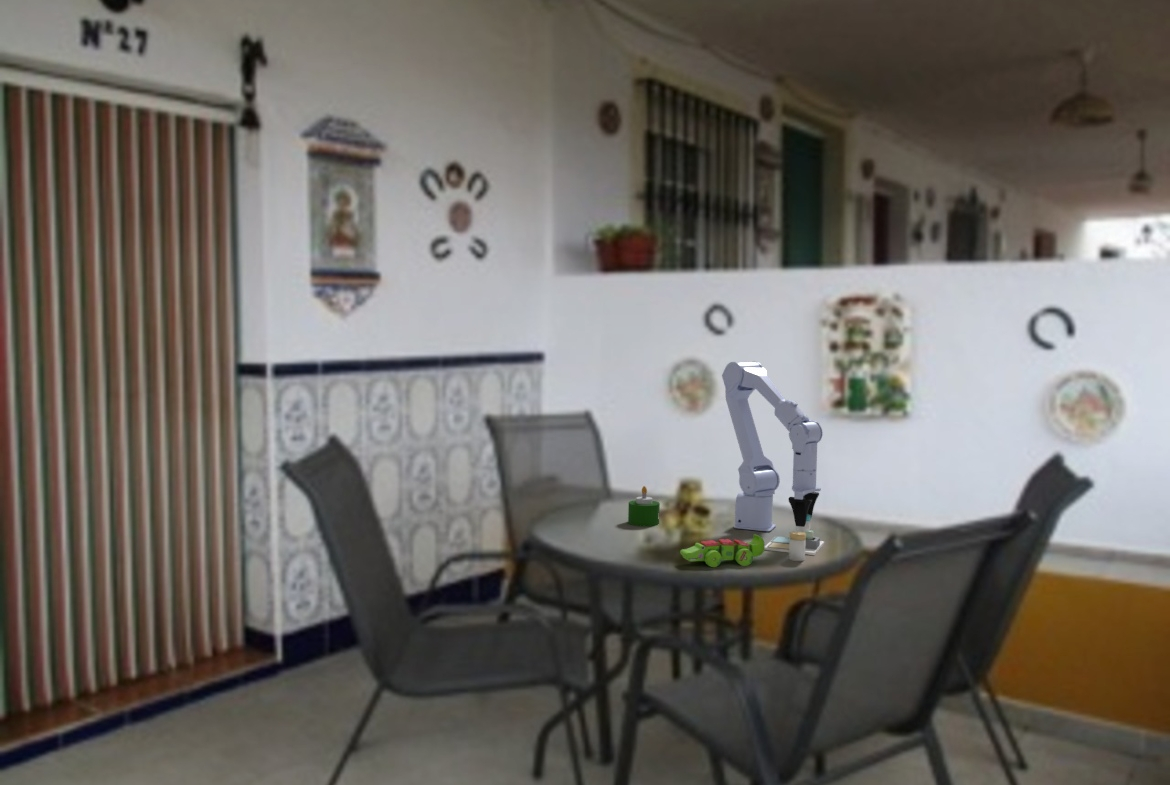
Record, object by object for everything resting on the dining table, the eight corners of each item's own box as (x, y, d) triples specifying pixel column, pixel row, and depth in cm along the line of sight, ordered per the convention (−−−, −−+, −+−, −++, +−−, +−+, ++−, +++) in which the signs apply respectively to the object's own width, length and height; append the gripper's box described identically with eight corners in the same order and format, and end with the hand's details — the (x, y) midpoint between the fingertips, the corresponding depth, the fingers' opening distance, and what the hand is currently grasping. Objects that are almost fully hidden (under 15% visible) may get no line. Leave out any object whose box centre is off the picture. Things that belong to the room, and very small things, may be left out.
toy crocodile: (686, 569, 219) (687, 542, 218) (676, 561, 225) (677, 535, 225) (769, 565, 223) (770, 538, 223) (757, 558, 230) (758, 532, 229)
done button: (803, 540, 238) (804, 531, 238) (805, 538, 240) (805, 529, 240) (812, 541, 237) (812, 532, 237) (813, 539, 239) (814, 530, 239)
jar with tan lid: (787, 560, 228) (788, 534, 227) (790, 556, 231) (791, 531, 231) (803, 561, 226) (804, 535, 226) (806, 558, 230) (807, 532, 229)
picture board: (763, 549, 237) (764, 539, 237) (775, 538, 249) (776, 528, 249) (814, 555, 233) (814, 544, 232) (824, 543, 245) (824, 533, 244)
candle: (657, 520, 270) (658, 483, 269) (660, 526, 262) (661, 489, 261) (627, 519, 270) (627, 483, 269) (629, 526, 261) (630, 488, 261)
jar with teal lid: (793, 539, 249) (794, 515, 249) (796, 536, 253) (797, 512, 252) (808, 540, 248) (809, 516, 247) (811, 537, 251) (812, 514, 251)
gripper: (815, 474, 241) (814, 530, 242) (826, 466, 254) (824, 519, 255) (786, 472, 243) (785, 527, 244) (798, 464, 257) (796, 517, 258)
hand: (803, 523), depth 250 cm, fingers open, 7 cm apart
